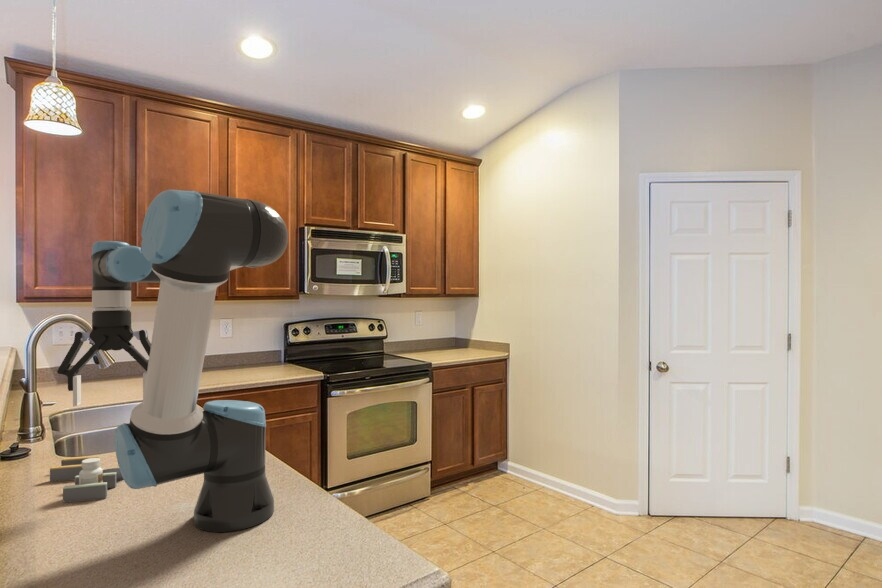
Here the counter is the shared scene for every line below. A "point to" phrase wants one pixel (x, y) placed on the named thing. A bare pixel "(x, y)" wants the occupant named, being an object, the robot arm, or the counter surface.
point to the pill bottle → (91, 471)
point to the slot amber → (68, 469)
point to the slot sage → (89, 489)
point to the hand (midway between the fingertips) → (112, 403)
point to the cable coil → (118, 473)
